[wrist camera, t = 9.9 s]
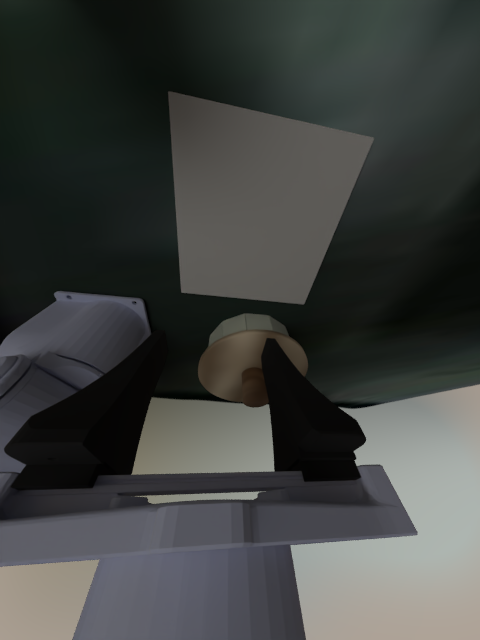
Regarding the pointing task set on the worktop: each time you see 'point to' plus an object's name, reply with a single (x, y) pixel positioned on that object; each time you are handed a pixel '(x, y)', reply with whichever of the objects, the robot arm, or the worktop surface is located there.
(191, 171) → the mat
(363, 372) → the worktop surface
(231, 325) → the bowl
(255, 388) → the lid
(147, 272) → the worktop surface
